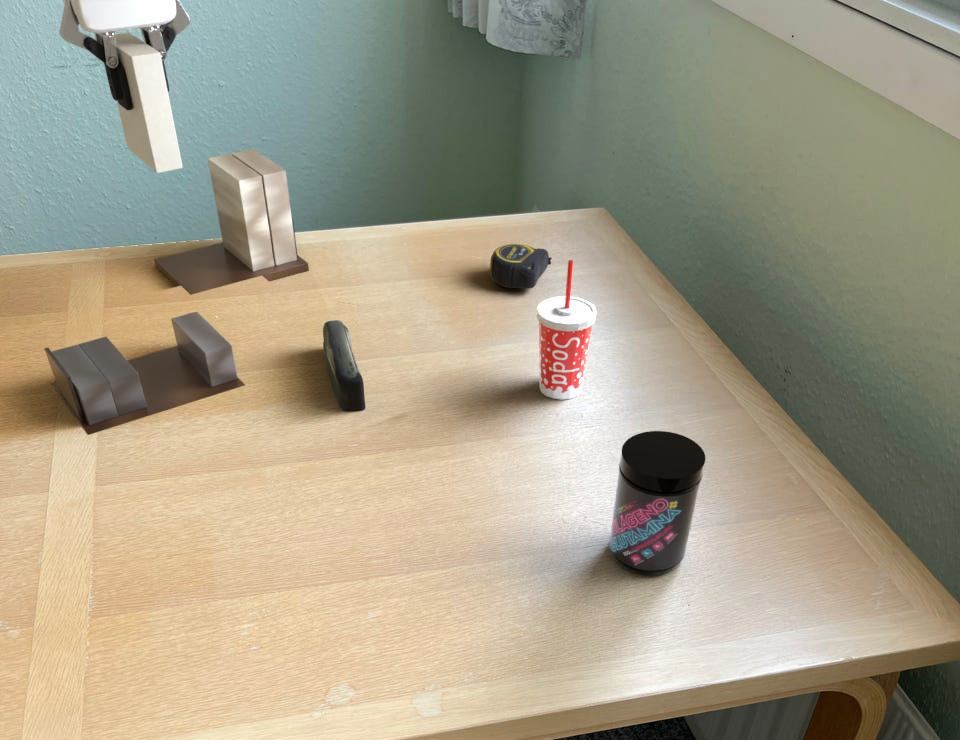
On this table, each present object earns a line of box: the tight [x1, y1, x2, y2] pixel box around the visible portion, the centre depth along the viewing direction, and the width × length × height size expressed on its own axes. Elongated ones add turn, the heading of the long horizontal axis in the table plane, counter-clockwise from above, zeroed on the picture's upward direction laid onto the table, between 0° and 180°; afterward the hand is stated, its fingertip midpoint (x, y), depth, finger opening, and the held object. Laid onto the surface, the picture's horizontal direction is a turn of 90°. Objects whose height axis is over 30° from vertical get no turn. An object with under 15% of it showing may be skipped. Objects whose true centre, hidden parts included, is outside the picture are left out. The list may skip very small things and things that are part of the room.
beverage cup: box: [536, 259, 598, 401], centre depth 98 cm, size 6×6×14 cm
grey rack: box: [44, 311, 246, 436], centre depth 100 cm, size 17×12×6 cm
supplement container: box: [608, 430, 706, 576], centre depth 80 cm, size 7×7×10 cm
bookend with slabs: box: [153, 148, 310, 296], centre depth 119 cm, size 16×12×12 cm
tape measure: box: [489, 243, 553, 289], centre depth 120 cm, size 7×7×4 cm
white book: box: [115, 32, 184, 174], centre depth 101 cm, size 3×9×11 cm, turn 34°
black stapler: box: [322, 319, 366, 413], centre depth 102 cm, size 5×3×15 cm
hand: (142, 102), depth 101 cm, fingers closed on white book, 3 cm apart
